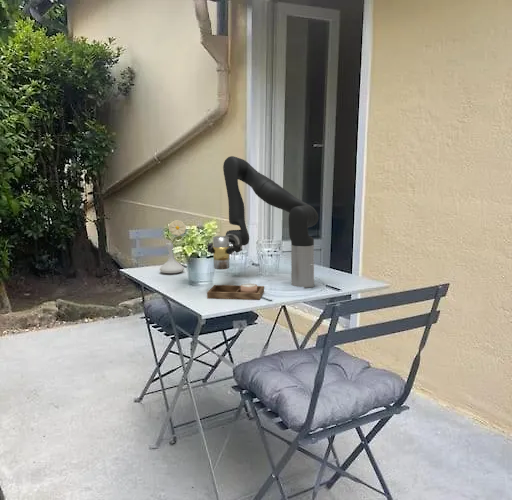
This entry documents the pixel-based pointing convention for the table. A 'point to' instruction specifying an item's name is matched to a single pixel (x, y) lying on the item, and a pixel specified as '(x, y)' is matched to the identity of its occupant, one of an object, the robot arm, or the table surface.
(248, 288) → the ramekin
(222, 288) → the tray
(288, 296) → the table surface
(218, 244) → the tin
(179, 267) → the flower in vase
